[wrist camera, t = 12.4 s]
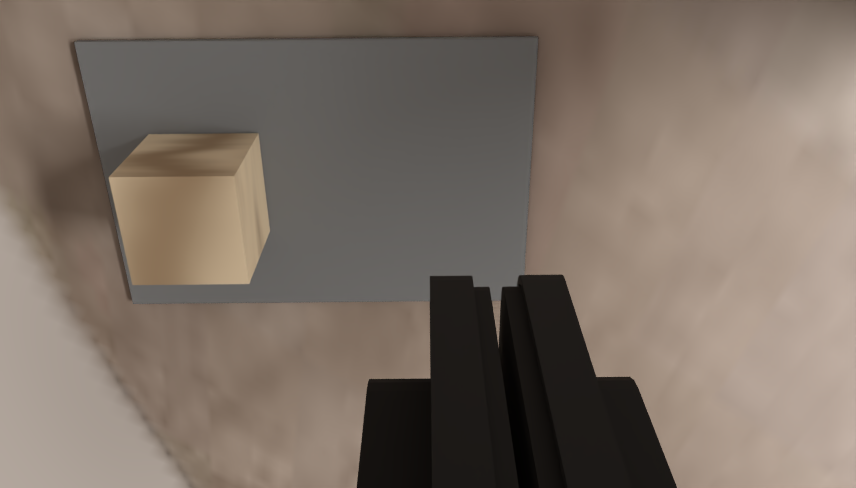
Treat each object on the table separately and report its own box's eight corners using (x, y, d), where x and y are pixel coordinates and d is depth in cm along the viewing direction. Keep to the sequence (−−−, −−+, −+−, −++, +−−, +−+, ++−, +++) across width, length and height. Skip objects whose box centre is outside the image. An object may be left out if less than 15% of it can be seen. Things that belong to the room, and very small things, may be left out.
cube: (108, 177, 36) (149, 133, 42) (132, 285, 39) (167, 231, 44) (234, 176, 36) (258, 132, 42) (249, 284, 39) (270, 230, 44)
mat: (537, 36, 40) (538, 37, 39) (521, 296, 47) (522, 300, 47) (77, 40, 40) (74, 42, 39) (135, 300, 47) (133, 303, 47)
